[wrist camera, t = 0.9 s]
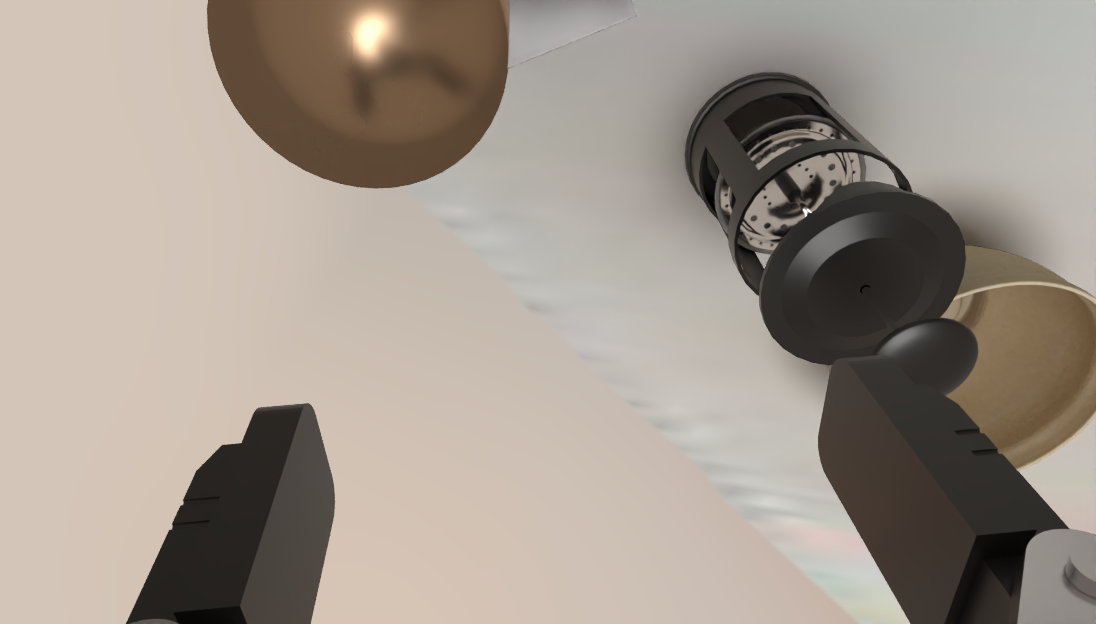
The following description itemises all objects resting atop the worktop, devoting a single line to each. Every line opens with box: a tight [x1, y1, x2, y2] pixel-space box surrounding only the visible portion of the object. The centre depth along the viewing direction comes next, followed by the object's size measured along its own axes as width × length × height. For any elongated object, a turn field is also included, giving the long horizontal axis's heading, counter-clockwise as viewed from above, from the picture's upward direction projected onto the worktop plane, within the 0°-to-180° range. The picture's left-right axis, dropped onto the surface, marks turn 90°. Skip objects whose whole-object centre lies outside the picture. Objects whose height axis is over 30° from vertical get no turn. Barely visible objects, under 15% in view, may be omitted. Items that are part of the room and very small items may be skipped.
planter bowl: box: [829, 246, 1096, 471], centre depth 49 cm, size 16×16×11 cm
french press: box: [685, 73, 979, 396], centre depth 37 cm, size 12×9×23 cm
